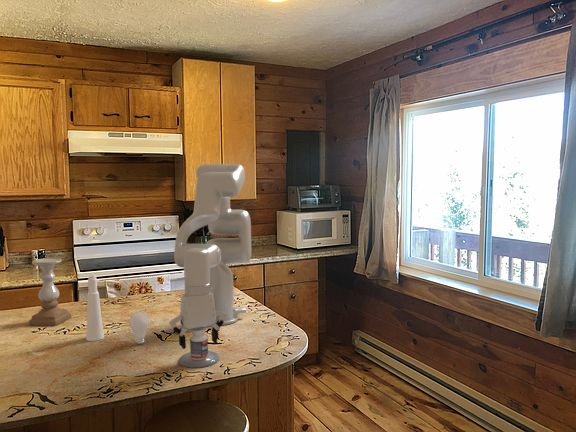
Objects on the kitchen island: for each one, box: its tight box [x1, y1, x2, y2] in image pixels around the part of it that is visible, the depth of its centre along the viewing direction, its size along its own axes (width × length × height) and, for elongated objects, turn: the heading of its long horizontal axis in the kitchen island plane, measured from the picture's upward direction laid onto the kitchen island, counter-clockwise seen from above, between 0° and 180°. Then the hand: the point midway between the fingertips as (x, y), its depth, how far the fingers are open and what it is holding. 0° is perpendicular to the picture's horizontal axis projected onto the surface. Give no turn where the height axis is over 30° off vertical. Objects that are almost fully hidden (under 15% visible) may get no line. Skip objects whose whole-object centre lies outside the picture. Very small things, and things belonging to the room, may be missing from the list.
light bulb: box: [128, 310, 151, 345], centre depth 160 cm, size 7×7×11 cm
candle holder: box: [28, 257, 72, 327], centre depth 185 cm, size 11×11×24 cm
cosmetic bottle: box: [85, 274, 105, 342], centre depth 166 cm, size 6×6×22 cm
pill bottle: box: [189, 327, 209, 360], centre depth 147 cm, size 5×5×9 cm
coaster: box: [178, 350, 220, 369], centre depth 147 cm, size 12×12×1 cm
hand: (199, 344), depth 147 cm, fingers open, 9 cm apart
